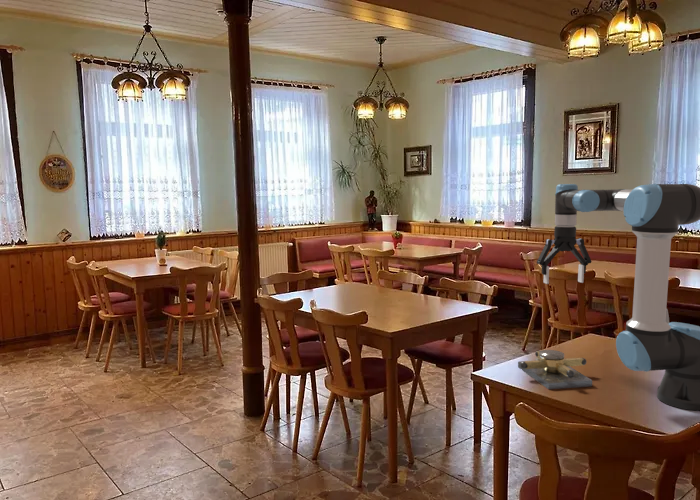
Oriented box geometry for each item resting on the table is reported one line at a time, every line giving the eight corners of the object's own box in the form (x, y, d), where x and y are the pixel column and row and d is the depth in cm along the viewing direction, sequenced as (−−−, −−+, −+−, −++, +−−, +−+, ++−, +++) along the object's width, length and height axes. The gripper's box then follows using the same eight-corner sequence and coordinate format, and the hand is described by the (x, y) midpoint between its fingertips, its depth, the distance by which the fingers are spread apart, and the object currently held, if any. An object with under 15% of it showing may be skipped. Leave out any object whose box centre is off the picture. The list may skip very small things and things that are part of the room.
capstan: (606, 379, 184) (606, 363, 184) (537, 384, 181) (537, 368, 180) (567, 356, 207) (568, 342, 207) (505, 360, 204) (506, 346, 203)
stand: (592, 386, 185) (592, 377, 184) (548, 389, 182) (548, 380, 182) (557, 364, 206) (557, 356, 206) (518, 367, 204) (518, 358, 204)
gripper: (591, 224, 217) (589, 279, 219) (528, 225, 214) (527, 281, 216) (602, 226, 209) (600, 283, 212) (537, 227, 206) (535, 285, 209)
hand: (563, 282), depth 214 cm, fingers open, 13 cm apart
